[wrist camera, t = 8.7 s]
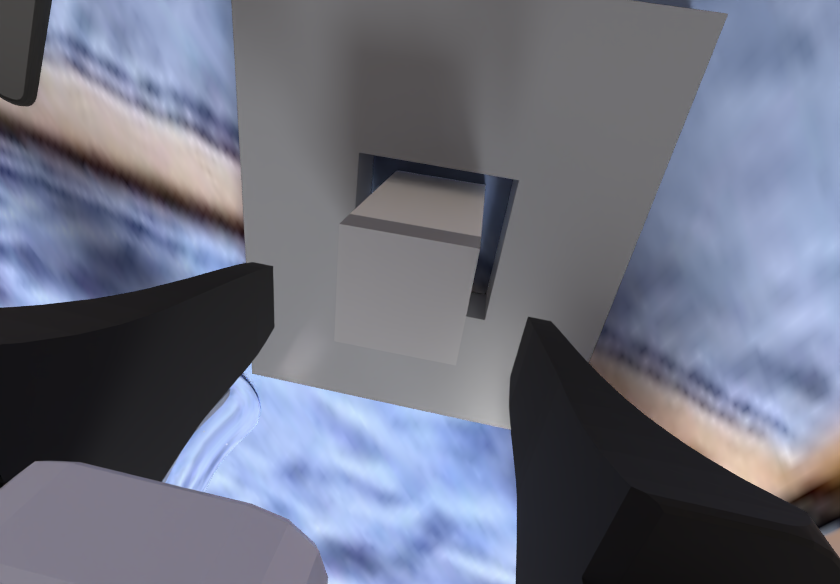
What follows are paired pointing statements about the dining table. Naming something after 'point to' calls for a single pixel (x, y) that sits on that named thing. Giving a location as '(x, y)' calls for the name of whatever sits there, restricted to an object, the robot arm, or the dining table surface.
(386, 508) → the dining table surface
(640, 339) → the dining table surface
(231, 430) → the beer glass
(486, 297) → the socket
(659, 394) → the dining table surface
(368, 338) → the plug
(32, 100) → the smartphone
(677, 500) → the robot arm
